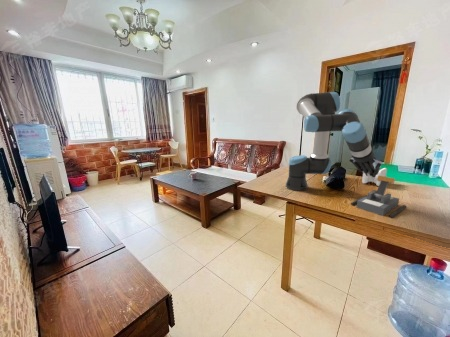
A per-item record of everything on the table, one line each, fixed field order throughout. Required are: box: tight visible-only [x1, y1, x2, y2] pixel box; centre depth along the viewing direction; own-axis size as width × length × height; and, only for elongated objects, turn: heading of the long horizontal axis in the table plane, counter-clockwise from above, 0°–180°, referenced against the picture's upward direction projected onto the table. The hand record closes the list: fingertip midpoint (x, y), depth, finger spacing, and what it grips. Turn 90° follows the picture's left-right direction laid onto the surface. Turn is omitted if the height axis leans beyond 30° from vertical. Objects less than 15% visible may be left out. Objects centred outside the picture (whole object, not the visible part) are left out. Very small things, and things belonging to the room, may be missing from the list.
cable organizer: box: [361, 167, 388, 187], centre depth 139 cm, size 15×11×12 cm
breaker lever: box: [374, 176, 396, 199], centre depth 104 cm, size 2×7×13 cm
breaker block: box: [356, 189, 400, 216], centre depth 104 cm, size 20×12×8 cm, turn 122°
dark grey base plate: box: [350, 194, 407, 219], centre depth 105 cm, size 18×19×1 cm
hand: (372, 179), depth 96 cm, fingers closed
